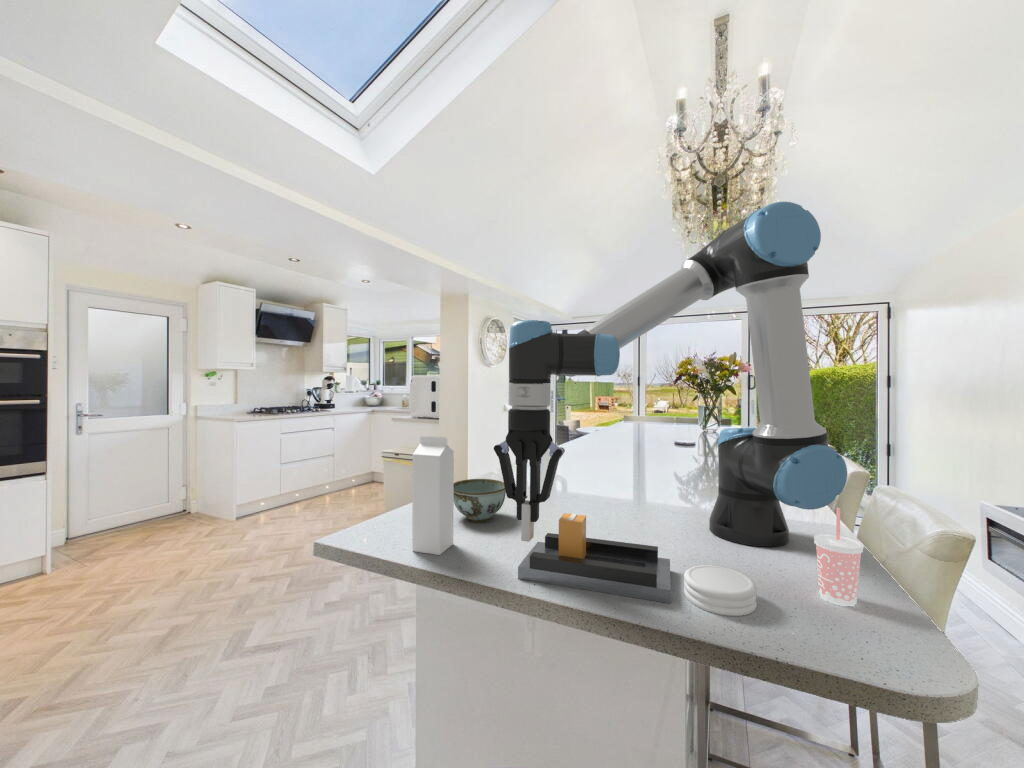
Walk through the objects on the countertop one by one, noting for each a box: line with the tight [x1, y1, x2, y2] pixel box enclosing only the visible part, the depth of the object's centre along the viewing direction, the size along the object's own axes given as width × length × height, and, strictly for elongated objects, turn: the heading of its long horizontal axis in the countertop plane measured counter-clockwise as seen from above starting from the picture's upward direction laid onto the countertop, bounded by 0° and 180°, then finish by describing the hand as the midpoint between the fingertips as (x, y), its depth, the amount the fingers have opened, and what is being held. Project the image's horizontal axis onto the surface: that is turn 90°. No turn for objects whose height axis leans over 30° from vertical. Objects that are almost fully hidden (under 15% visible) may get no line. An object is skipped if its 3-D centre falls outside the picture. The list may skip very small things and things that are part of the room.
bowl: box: [454, 478, 506, 523], centre depth 105 cm, size 14×13×8 cm
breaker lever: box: [558, 512, 587, 559], centre depth 76 cm, size 4×4×7 cm
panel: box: [517, 532, 672, 604], centre depth 75 cm, size 24×12×4 cm, turn 71°
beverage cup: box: [813, 506, 865, 605], centre depth 67 cm, size 6×6×14 cm
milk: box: [411, 435, 455, 556], centre depth 86 cm, size 6×6×22 cm
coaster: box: [683, 564, 758, 617], centre depth 67 cm, size 10×10×4 cm
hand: (527, 538), depth 79 cm, fingers closed
